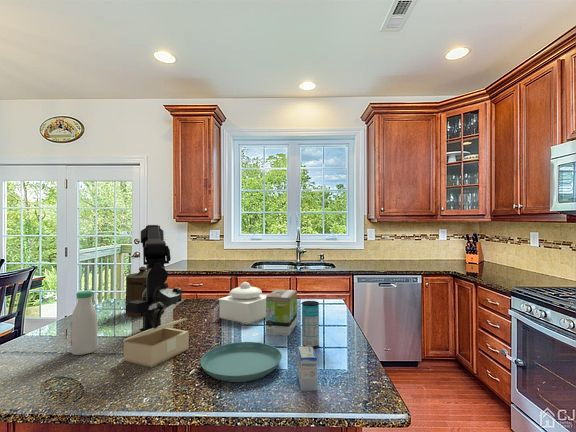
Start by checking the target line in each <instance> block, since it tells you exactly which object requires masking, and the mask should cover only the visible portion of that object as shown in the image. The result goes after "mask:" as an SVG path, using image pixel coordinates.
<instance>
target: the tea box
mask: <svg viewBox="0 0 576 432" xmlns="http://www.w3.org/2000/svg"><path fill="white" fill-rule="evenodd" d="M267 295H268V296H266V318H265V330H264V331H265V334H266V335H273V336H291V334H292V333H293V331H294V329H295V327H296V326H297V320H298V319H297V317H298V312H297V311H298V310H297V309H298V290H295V289H278V288H277V289H274V290H272V292H270V293H269V294H267Z"/></svg>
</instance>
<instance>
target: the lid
mask: <svg viewBox="0 0 576 432" xmlns="http://www.w3.org/2000/svg"><path fill="white" fill-rule="evenodd" d="M186 320H188V318H187V317H184V318H181V319H177V320H174V321H170V322H168V323H164V324H161V325H160V326H158V327H157V328H152V329H149V330H146V331H141V332H139V333H137V334H134V335H132V336H129V337H127V338H124V339H123V342H124V341H127V340H130V339H134V338H137V337H141V336H144V335H148V334H151V333H153V332H156V331H159V330H161V329H164V328H170V327H171V326H173V325H176V324H179V323H182V322H184V321H186Z"/></svg>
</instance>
